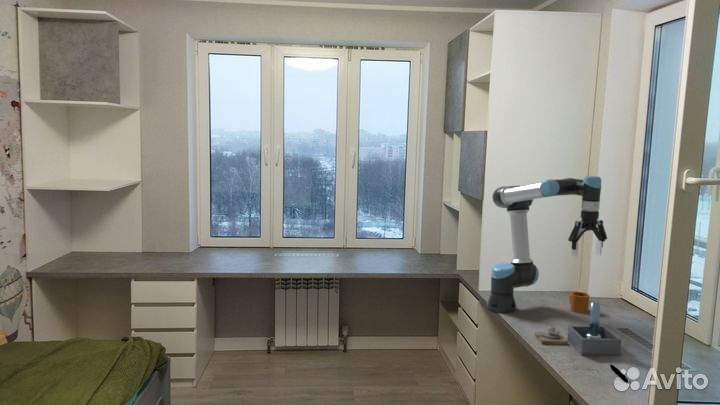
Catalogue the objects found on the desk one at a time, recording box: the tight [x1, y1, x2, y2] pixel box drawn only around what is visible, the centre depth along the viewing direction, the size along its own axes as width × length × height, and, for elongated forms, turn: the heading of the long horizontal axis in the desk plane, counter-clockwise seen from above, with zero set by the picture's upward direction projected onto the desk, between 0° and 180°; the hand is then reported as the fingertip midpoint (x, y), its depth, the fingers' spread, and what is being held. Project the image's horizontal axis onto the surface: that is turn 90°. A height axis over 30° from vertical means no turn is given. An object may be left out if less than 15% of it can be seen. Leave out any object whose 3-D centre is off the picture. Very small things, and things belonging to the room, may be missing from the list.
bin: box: [566, 325, 622, 357], centre depth 224 cm, size 16×16×7 cm
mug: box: [569, 291, 590, 314], centre depth 274 cm, size 9×12×9 cm
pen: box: [609, 363, 629, 383], centre depth 199 cm, size 2×14×2 cm, turn 179°
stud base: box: [534, 326, 569, 345], centre depth 233 cm, size 11×11×6 cm
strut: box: [585, 301, 601, 339], centre depth 223 cm, size 6×6×19 cm
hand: (586, 255), depth 240 cm, fingers open, 13 cm apart
